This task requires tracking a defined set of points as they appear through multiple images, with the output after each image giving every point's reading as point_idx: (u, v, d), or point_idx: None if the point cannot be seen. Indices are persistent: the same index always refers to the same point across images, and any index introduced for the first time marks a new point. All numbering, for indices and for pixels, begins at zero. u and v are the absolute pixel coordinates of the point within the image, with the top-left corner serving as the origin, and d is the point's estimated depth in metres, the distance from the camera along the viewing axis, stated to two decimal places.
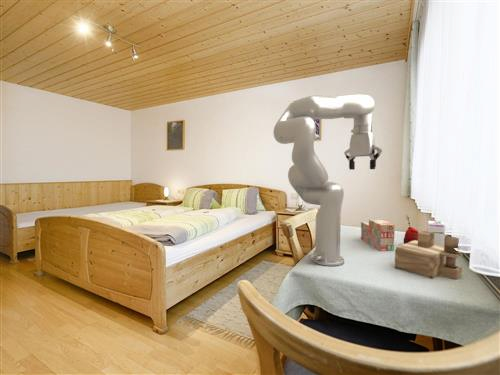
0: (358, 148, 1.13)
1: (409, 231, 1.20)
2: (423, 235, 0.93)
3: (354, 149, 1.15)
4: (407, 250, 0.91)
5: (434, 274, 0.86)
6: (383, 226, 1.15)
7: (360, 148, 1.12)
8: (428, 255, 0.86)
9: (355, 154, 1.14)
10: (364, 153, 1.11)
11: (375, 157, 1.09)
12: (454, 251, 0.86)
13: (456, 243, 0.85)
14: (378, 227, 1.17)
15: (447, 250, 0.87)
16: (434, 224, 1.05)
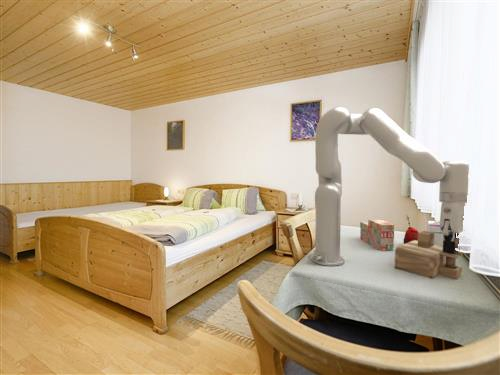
0: (462, 222, 0.85)
1: (409, 231, 1.20)
2: (423, 235, 0.93)
3: (460, 224, 0.83)
4: (407, 250, 0.91)
5: (434, 274, 0.86)
6: (383, 226, 1.15)
7: None
8: (428, 255, 0.86)
9: (460, 230, 0.84)
10: None
11: None
12: None
13: (456, 243, 0.85)
14: (378, 227, 1.17)
15: None
16: (434, 224, 1.05)
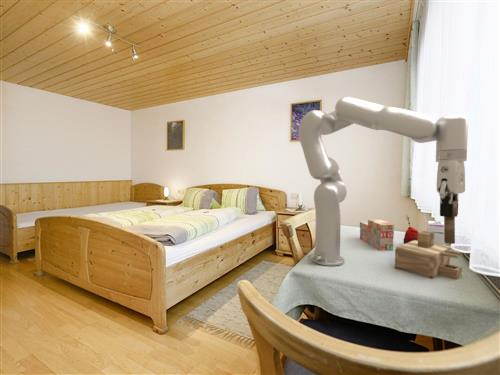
0: (460, 182, 0.77)
1: (409, 231, 1.20)
2: (423, 235, 0.93)
3: (458, 183, 0.76)
4: (407, 250, 0.91)
5: (434, 274, 0.86)
6: (382, 226, 1.15)
7: (461, 182, 0.78)
8: (428, 255, 0.86)
9: (459, 191, 0.77)
10: (463, 190, 0.79)
11: None
12: (453, 215, 0.78)
13: (454, 206, 0.78)
14: (377, 227, 1.17)
15: None
16: (434, 224, 1.05)
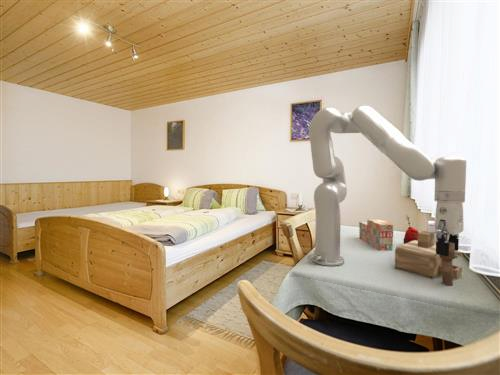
0: (459, 223, 0.78)
1: (409, 231, 1.20)
2: (423, 235, 0.93)
3: (457, 225, 0.77)
4: (407, 250, 0.91)
5: (434, 274, 0.86)
6: (382, 226, 1.16)
7: (460, 223, 0.79)
8: (428, 255, 0.86)
9: (457, 232, 0.77)
10: (461, 230, 0.80)
11: None
12: (450, 257, 0.79)
13: (452, 249, 0.79)
14: (377, 227, 1.18)
15: (443, 256, 0.80)
16: (434, 224, 1.05)
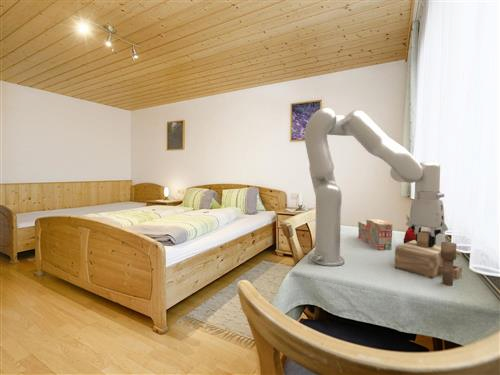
0: None
1: (409, 231, 1.20)
2: (422, 235, 0.93)
3: None
4: (406, 250, 0.91)
5: (434, 274, 0.86)
6: (381, 225, 1.16)
7: None
8: (427, 255, 0.86)
9: None
10: None
11: None
12: (451, 258, 0.79)
13: (454, 249, 0.79)
14: (376, 226, 1.18)
15: (444, 257, 0.80)
16: None
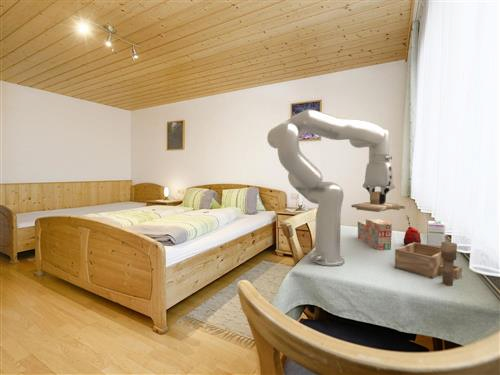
0: None
1: (409, 231, 1.20)
2: (374, 194, 1.07)
3: None
4: (359, 206, 1.05)
5: (434, 274, 0.86)
6: (381, 225, 1.16)
7: None
8: (375, 208, 1.00)
9: None
10: None
11: None
12: (452, 258, 0.79)
13: (454, 249, 0.79)
14: (376, 226, 1.19)
15: (444, 257, 0.80)
16: (434, 224, 1.05)
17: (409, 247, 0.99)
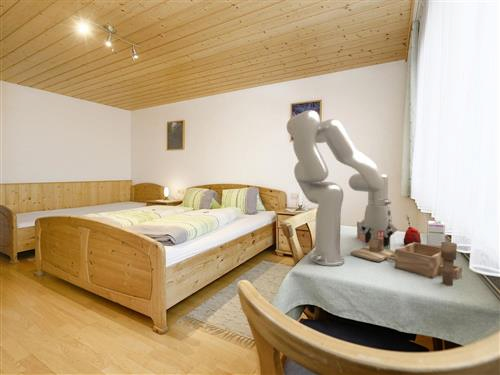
0: None
1: (409, 231, 1.20)
2: (373, 241, 1.08)
3: None
4: (358, 254, 1.06)
5: (434, 274, 0.86)
6: None
7: None
8: (374, 259, 1.01)
9: None
10: None
11: None
12: (452, 258, 0.79)
13: (454, 249, 0.79)
14: None
15: (444, 257, 0.80)
16: (434, 224, 1.05)
17: (409, 247, 0.99)
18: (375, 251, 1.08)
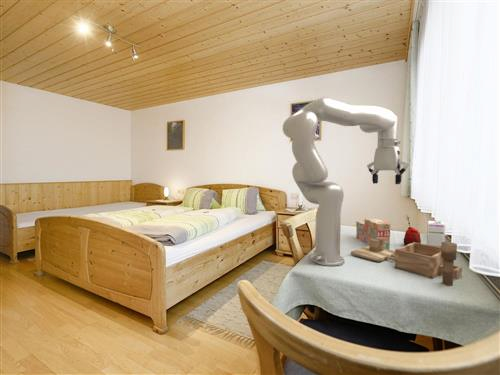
0: None
1: (409, 231, 1.20)
2: (373, 241, 1.08)
3: None
4: (359, 254, 1.06)
5: (434, 274, 0.86)
6: (379, 225, 1.17)
7: None
8: (374, 259, 1.01)
9: None
10: None
11: None
12: (452, 258, 0.79)
13: (454, 249, 0.79)
14: (374, 226, 1.19)
15: (444, 257, 0.80)
16: (434, 224, 1.05)
17: (409, 247, 0.99)
18: (375, 251, 1.08)
